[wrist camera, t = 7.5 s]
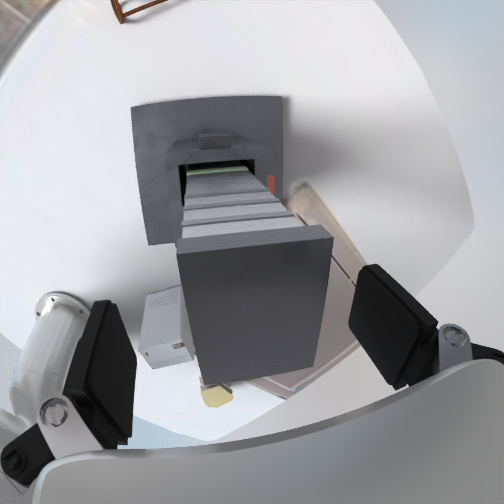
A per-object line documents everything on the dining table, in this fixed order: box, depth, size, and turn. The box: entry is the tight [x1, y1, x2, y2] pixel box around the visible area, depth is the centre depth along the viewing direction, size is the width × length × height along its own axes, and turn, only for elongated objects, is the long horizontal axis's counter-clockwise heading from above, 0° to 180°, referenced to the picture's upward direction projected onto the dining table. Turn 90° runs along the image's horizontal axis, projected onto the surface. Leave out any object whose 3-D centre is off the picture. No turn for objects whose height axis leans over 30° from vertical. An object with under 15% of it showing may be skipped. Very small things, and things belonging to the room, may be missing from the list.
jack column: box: [176, 160, 334, 385], centre depth 18 cm, size 6×5×21 cm
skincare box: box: [138, 285, 194, 369], centre depth 36 cm, size 6×4×12 cm
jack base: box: [131, 96, 282, 248], centre depth 28 cm, size 18×18×14 cm
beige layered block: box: [199, 375, 233, 407], centre depth 50 cm, size 10×9×6 cm
